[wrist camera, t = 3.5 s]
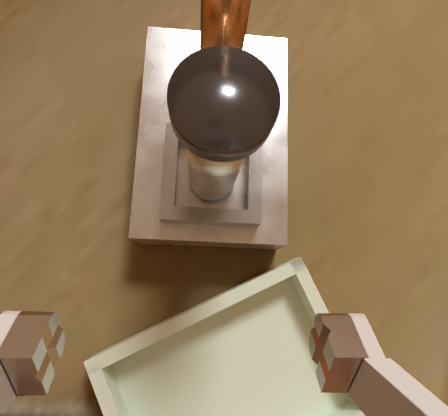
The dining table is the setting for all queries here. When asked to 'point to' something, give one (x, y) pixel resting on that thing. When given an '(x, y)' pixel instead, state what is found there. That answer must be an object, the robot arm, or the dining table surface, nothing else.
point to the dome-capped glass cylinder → (221, 114)
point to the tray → (224, 356)
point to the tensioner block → (177, 154)
